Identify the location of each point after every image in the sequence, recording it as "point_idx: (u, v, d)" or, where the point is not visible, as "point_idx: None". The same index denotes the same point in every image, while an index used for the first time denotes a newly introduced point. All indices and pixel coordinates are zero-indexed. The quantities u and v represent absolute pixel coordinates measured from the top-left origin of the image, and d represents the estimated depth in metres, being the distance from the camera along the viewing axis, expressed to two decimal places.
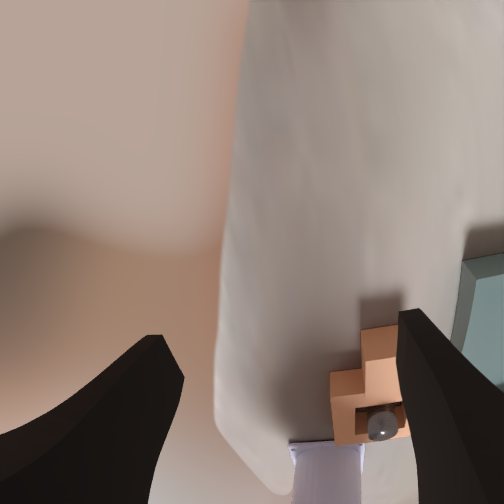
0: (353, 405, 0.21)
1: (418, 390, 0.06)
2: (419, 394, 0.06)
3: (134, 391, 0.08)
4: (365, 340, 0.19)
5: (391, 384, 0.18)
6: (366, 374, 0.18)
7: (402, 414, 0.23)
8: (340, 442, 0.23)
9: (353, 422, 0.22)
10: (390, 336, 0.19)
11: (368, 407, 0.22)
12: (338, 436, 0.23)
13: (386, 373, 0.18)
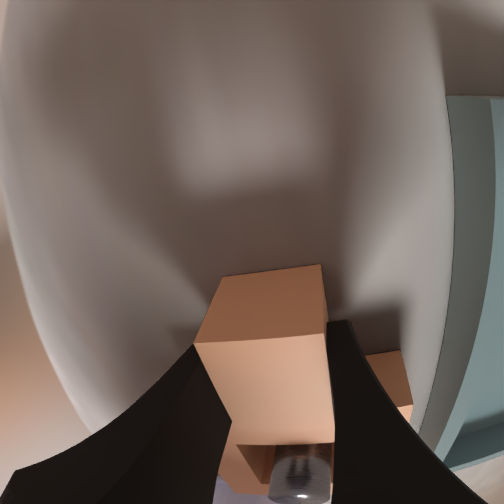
0: (228, 438, 0.10)
1: (333, 403, 0.07)
2: (333, 407, 0.06)
3: (200, 395, 0.07)
4: (220, 296, 0.09)
5: (289, 409, 0.08)
6: (212, 378, 0.08)
7: None
8: (241, 490, 0.13)
9: (246, 466, 0.11)
10: (281, 289, 0.08)
11: None
12: (231, 481, 0.12)
13: (266, 383, 0.07)
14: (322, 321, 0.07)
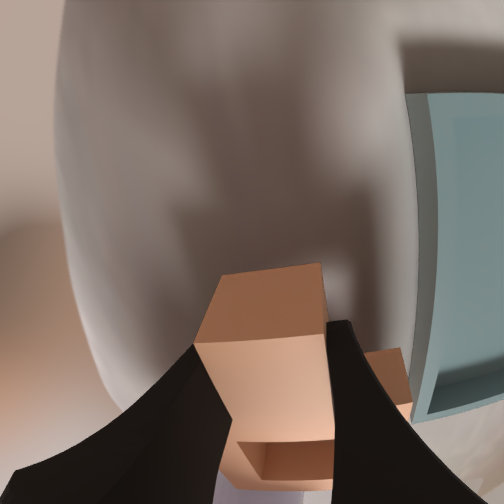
0: (228, 435, 0.10)
1: (333, 403, 0.07)
2: (333, 407, 0.06)
3: (200, 396, 0.07)
4: (219, 295, 0.09)
5: (289, 407, 0.08)
6: (212, 377, 0.08)
7: None
8: (242, 486, 0.13)
9: (247, 463, 0.11)
10: (281, 288, 0.08)
11: None
12: (232, 477, 0.12)
13: (266, 382, 0.07)
14: (322, 321, 0.07)
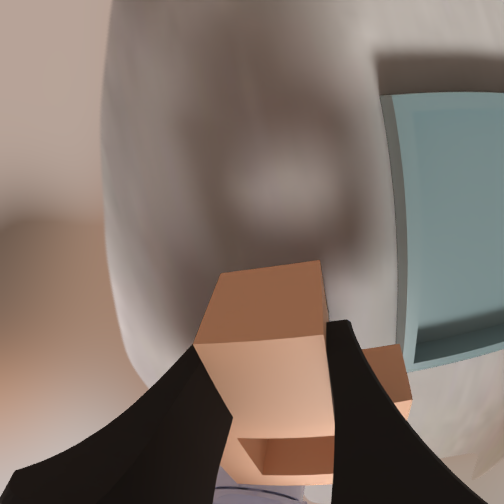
0: (229, 432, 0.10)
1: (333, 403, 0.07)
2: (333, 407, 0.06)
3: (200, 395, 0.07)
4: (218, 294, 0.09)
5: (289, 405, 0.08)
6: (212, 377, 0.08)
7: None
8: (243, 480, 0.13)
9: (248, 458, 0.11)
10: (280, 286, 0.08)
11: None
12: (233, 472, 0.13)
13: (266, 382, 0.07)
14: (322, 321, 0.07)
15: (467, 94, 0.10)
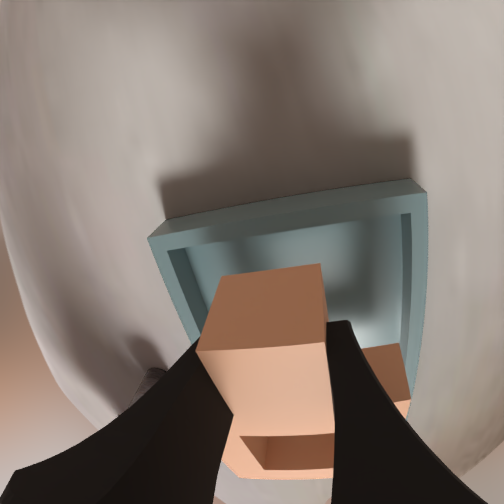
0: (231, 430, 0.10)
1: None
2: (333, 407, 0.06)
3: (200, 396, 0.07)
4: (219, 298, 0.09)
5: (290, 407, 0.08)
6: (215, 381, 0.08)
7: None
8: (245, 475, 0.14)
9: (250, 454, 0.12)
10: (281, 291, 0.08)
11: (139, 386, 0.22)
12: (235, 468, 0.13)
13: (268, 385, 0.08)
14: (323, 328, 0.07)
15: (224, 225, 0.14)
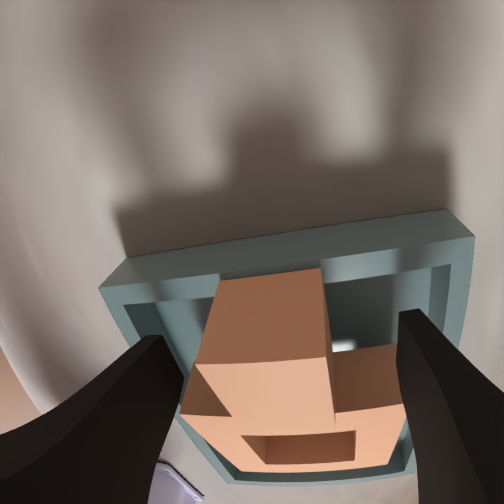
0: (233, 430, 0.11)
1: (418, 390, 0.06)
2: (419, 394, 0.06)
3: (134, 391, 0.08)
4: (218, 306, 0.08)
5: (291, 413, 0.08)
6: (215, 391, 0.08)
7: (353, 435, 0.13)
8: (247, 469, 0.14)
9: (251, 451, 0.12)
10: (281, 299, 0.08)
11: None
12: (237, 462, 0.13)
13: (269, 395, 0.08)
14: (324, 342, 0.07)
15: (192, 279, 0.10)
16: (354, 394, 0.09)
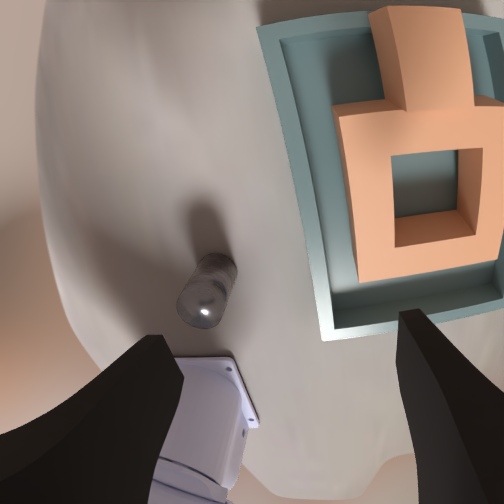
0: (385, 145, 0.11)
1: (418, 390, 0.06)
2: (419, 394, 0.06)
3: (134, 391, 0.08)
4: None
5: (446, 76, 0.08)
6: (396, 39, 0.08)
7: (465, 217, 0.13)
8: (369, 271, 0.14)
9: (391, 204, 0.12)
10: None
11: None
12: (364, 250, 0.14)
13: (432, 45, 0.08)
14: None
15: (346, 14, 0.10)
16: (474, 102, 0.09)
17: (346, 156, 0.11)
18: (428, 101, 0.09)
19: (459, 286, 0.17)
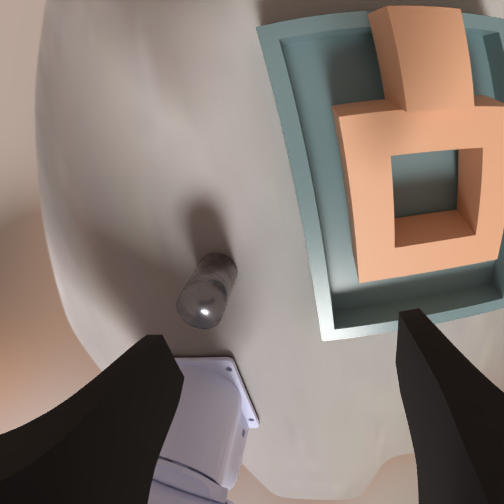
0: (385, 145, 0.11)
1: (418, 390, 0.06)
2: (419, 394, 0.06)
3: (134, 391, 0.08)
4: None
5: (446, 76, 0.08)
6: (396, 39, 0.08)
7: (465, 217, 0.13)
8: (369, 271, 0.14)
9: (391, 204, 0.12)
10: None
11: None
12: (364, 250, 0.14)
13: (432, 45, 0.08)
14: None
15: (346, 14, 0.10)
16: (474, 102, 0.09)
17: (346, 156, 0.11)
18: (428, 101, 0.09)
19: (459, 286, 0.17)
